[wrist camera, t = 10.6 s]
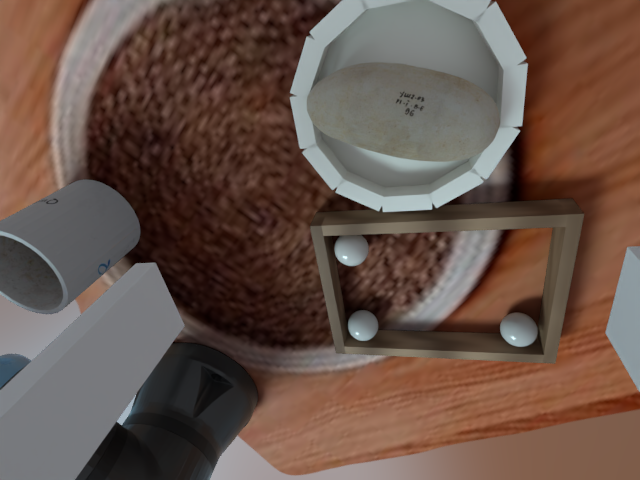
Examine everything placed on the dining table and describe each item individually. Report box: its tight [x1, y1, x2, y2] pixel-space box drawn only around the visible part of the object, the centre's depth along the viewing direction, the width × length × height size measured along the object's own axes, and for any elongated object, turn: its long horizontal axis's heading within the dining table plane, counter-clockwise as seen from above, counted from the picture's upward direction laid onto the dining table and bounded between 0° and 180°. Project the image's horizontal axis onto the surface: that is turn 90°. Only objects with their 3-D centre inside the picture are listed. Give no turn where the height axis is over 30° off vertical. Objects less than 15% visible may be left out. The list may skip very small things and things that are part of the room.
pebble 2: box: [500, 312, 538, 347], centre depth 34 cm, size 3×3×3 cm
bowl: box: [290, 0, 528, 212], centre depth 27 cm, size 15×15×3 cm
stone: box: [307, 62, 500, 162], centre depth 25 cm, size 6×6×12 cm
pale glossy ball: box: [348, 310, 378, 341], centre depth 38 cm, size 3×3×3 cm
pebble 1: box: [334, 235, 369, 266], centre depth 34 cm, size 3×3×3 cm
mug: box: [0, 179, 140, 314], centre depth 37 cm, size 12×9×10 cm
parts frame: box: [310, 198, 584, 363], centre depth 34 cm, size 20×15×2 cm
